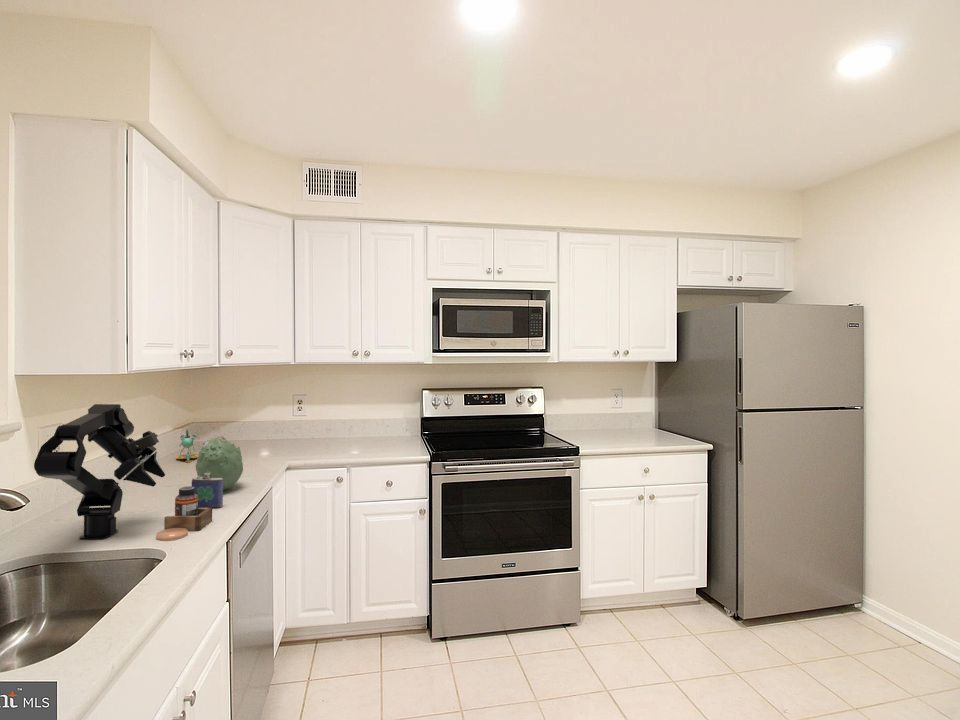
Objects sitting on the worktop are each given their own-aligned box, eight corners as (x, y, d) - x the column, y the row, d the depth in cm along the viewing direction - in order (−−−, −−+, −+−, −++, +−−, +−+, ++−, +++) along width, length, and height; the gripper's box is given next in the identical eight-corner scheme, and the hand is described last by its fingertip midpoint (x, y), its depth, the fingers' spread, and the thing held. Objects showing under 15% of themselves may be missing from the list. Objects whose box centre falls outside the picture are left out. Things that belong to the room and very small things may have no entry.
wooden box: (164, 530, 151) (164, 517, 150) (179, 520, 159) (179, 507, 159) (199, 530, 151) (199, 517, 151) (212, 520, 160) (212, 507, 160)
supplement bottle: (171, 525, 155) (172, 487, 155) (193, 521, 160) (194, 484, 159) (177, 530, 151) (178, 491, 151) (200, 526, 155) (201, 488, 155)
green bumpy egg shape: (247, 483, 205) (248, 432, 204) (236, 496, 186) (237, 440, 186) (203, 484, 201) (204, 432, 201) (188, 498, 183) (189, 441, 182)
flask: (224, 506, 175) (224, 471, 175) (220, 509, 172) (220, 474, 172) (193, 506, 174) (193, 471, 174) (188, 509, 171) (189, 473, 171)
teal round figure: (169, 464, 233) (170, 430, 234) (179, 460, 250) (180, 428, 251) (193, 463, 236) (194, 429, 237) (202, 459, 253) (202, 428, 254)
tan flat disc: (150, 540, 143) (150, 537, 143) (164, 531, 150) (164, 527, 150) (179, 540, 144) (179, 537, 143) (192, 531, 151) (192, 527, 151)
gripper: (127, 430, 142) (173, 469, 146) (148, 418, 160) (189, 453, 164) (93, 460, 140) (140, 498, 144) (118, 444, 158) (160, 479, 162)
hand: (159, 480), depth 154 cm, fingers open, 9 cm apart
